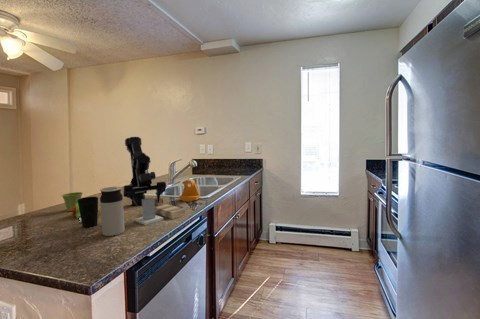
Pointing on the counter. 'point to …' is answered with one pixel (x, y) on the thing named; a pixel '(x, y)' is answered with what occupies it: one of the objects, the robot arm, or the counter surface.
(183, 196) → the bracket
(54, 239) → the counter surface
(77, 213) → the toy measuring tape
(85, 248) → the counter surface
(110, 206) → the travel mug
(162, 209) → the body
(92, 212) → the cup
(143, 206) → the lever cap
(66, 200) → the plant pot
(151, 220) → the sage mat
